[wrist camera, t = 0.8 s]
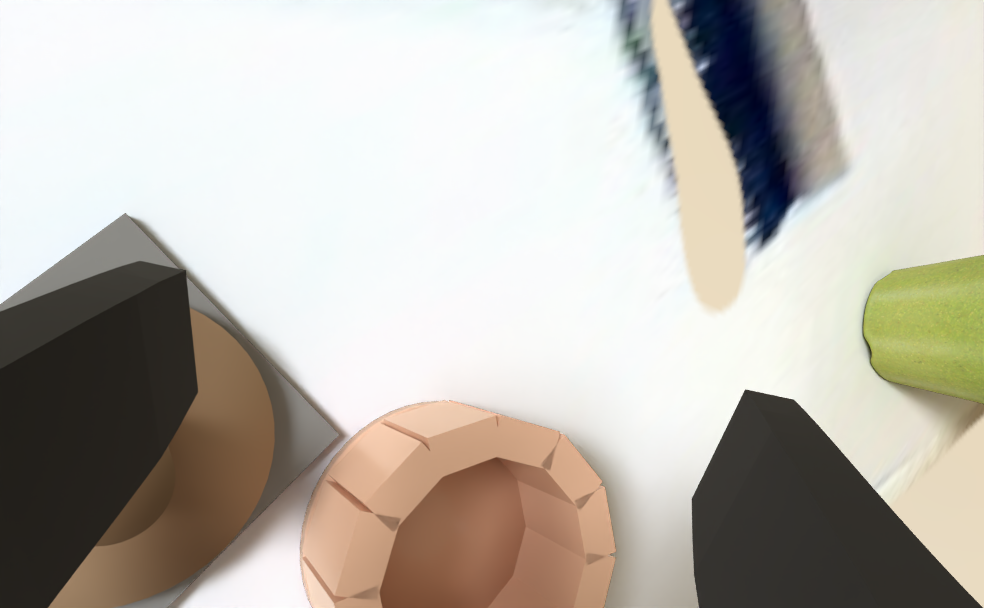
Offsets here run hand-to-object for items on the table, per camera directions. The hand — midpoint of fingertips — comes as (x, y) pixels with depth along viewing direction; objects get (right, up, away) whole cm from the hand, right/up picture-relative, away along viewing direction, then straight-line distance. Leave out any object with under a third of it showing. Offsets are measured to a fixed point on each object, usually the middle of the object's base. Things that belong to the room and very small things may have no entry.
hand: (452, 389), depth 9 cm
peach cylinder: (-2, -7, +15) cm, 16 cm away
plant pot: (+22, 0, +28) cm, 36 cm away
